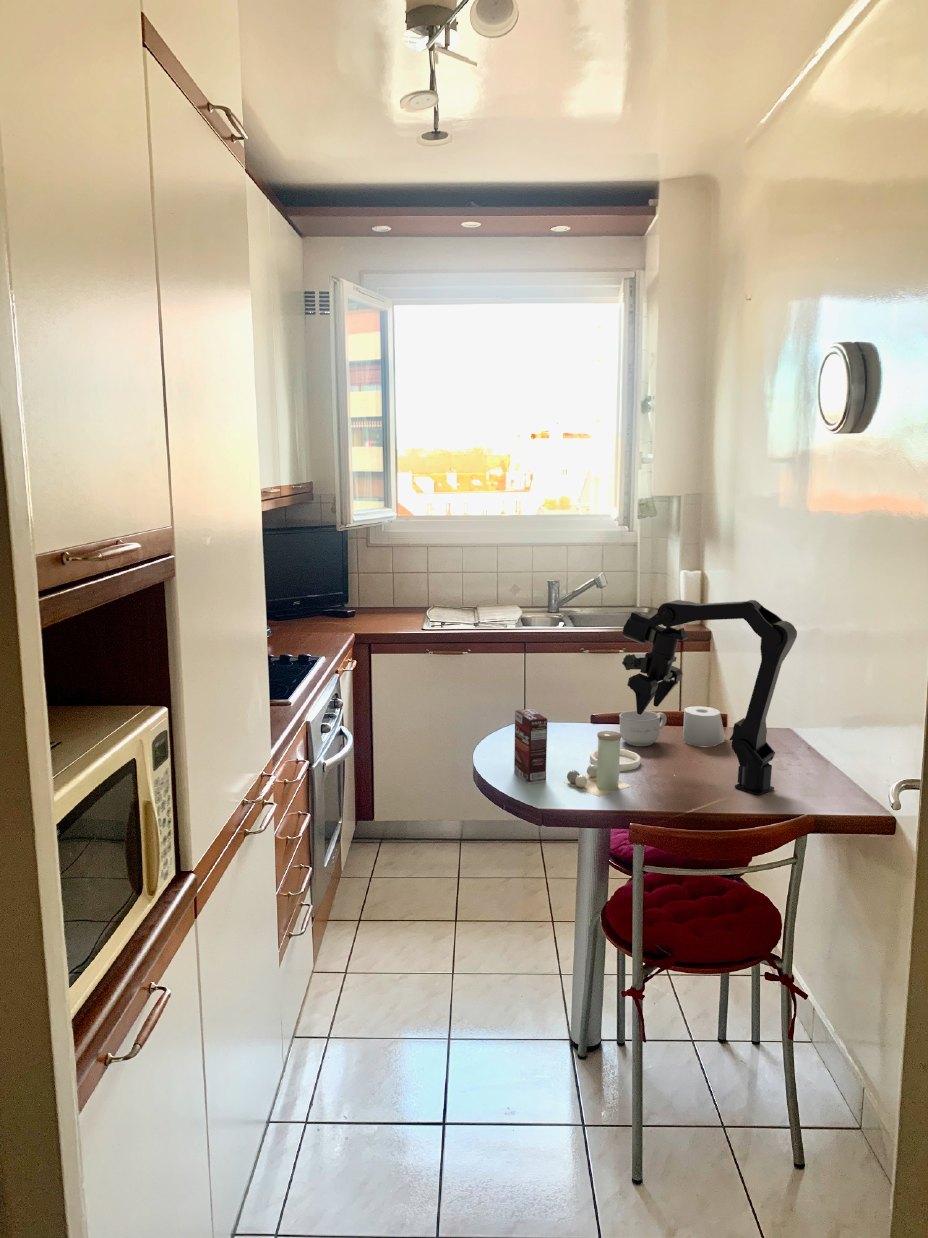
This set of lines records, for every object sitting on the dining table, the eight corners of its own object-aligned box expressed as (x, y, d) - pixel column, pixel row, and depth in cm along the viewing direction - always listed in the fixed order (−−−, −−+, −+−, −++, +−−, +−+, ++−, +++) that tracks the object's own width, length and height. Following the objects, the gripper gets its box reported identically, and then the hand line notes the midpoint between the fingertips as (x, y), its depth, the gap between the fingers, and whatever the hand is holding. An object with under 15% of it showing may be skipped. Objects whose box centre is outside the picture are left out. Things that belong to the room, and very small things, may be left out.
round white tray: (649, 765, 217) (650, 757, 217) (616, 775, 210) (616, 767, 210) (613, 752, 227) (613, 745, 226) (580, 762, 219) (580, 754, 219)
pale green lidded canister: (624, 787, 201) (626, 735, 199) (608, 792, 198) (610, 739, 196) (606, 781, 205) (608, 729, 203) (590, 786, 202) (592, 733, 200)
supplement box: (512, 773, 211) (514, 709, 208) (531, 771, 213) (532, 708, 210) (527, 786, 203) (529, 719, 200) (546, 783, 205) (548, 717, 202)
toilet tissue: (732, 739, 239) (734, 708, 238) (705, 749, 230) (707, 718, 229) (702, 731, 246) (704, 701, 244) (676, 741, 237) (677, 710, 235)
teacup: (629, 751, 228) (630, 721, 227) (611, 738, 239) (612, 710, 237) (677, 747, 232) (679, 717, 231) (657, 734, 242) (659, 706, 241)
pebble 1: (582, 783, 204) (582, 771, 203) (573, 786, 202) (573, 773, 201) (573, 779, 206) (573, 767, 206) (564, 782, 204) (564, 770, 204)
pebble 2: (589, 787, 201) (590, 775, 201) (581, 790, 199) (581, 778, 199) (580, 784, 203) (581, 772, 203) (572, 786, 202) (572, 775, 201)
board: (631, 787, 202) (632, 786, 202) (598, 798, 196) (598, 796, 196) (597, 774, 211) (597, 772, 211) (564, 784, 204) (564, 782, 204)
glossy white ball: (601, 777, 208) (602, 765, 207) (593, 780, 206) (593, 768, 205) (592, 774, 210) (593, 762, 210) (583, 776, 208) (584, 764, 208)
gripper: (650, 634, 223) (635, 690, 228) (615, 646, 208) (600, 705, 213) (690, 649, 217) (674, 706, 222) (657, 662, 202) (641, 723, 207)
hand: (647, 710), depth 216 cm, fingers open, 9 cm apart
